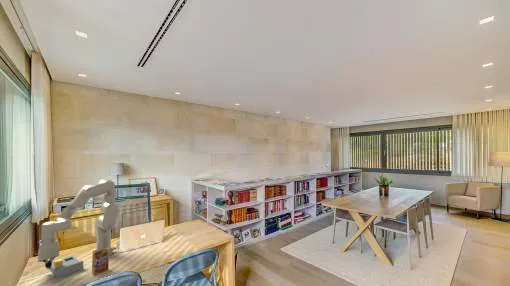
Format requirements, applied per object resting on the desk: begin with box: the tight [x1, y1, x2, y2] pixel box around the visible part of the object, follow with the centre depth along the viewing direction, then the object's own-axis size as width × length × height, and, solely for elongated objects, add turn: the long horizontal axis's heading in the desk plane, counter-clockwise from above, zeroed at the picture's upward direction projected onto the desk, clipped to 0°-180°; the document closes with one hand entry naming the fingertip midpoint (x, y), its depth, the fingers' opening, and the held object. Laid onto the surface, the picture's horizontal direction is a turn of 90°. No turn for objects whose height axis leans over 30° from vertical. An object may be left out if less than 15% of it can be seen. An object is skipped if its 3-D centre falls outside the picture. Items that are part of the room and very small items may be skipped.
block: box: [53, 258, 63, 268], centre depth 155 cm, size 4×4×4 cm
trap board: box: [49, 255, 84, 279], centre depth 158 cm, size 14×21×6 cm, turn 55°
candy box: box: [91, 247, 110, 276], centre depth 154 cm, size 9×4×15 cm, turn 140°
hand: (48, 267), depth 151 cm, fingers closed
